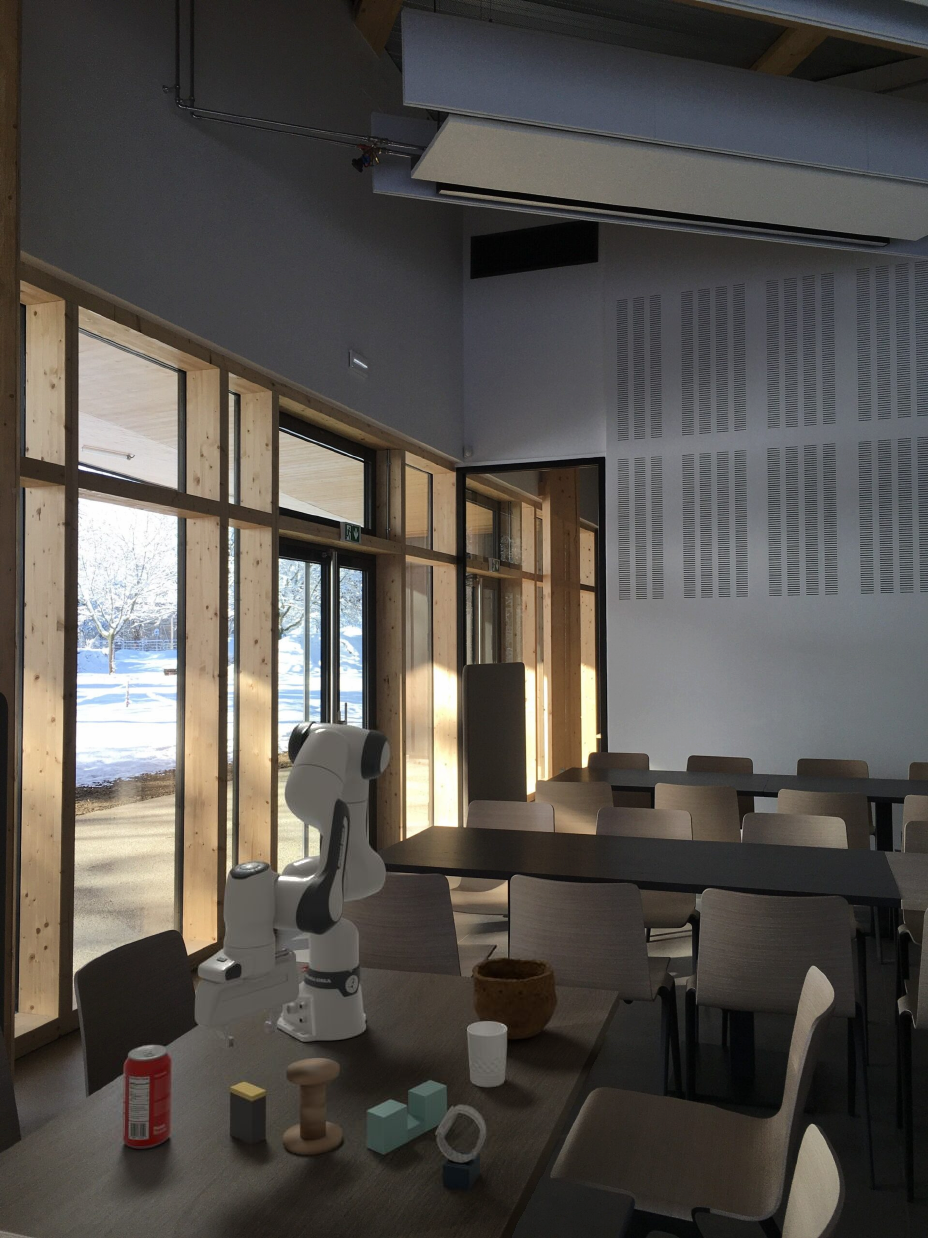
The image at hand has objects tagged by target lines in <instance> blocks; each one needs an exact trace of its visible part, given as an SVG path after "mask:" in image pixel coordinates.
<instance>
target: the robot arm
mask: <svg viewBox="0 0 928 1238" xmlns="http://www.w3.org/2000/svg"><path fill="white" fill-rule="evenodd" d="M287 743H288V744H287V756H288V760H289V761H290V762H291V764H292V765H291V766H292V767H291V769H290V772H289V775H288V777H287V779H286V780H287V781H286V783H285V787H284V800H285V803H286V805H287V808H288V809H289V810H290V812H291V814H293V815H294V817H296V818H297V819H299V820H300V821H301V822H303V823H304V824H306V825H308V826H310V827H313V828H315V829H316V830H317V831H318V833H319V834H320V835H322V839H321V840H322V841H321V847H320V852H319V853H320V855H312V856H306V857H303V858H299V859H298V860H295V861H292V862H290V863H288V864H286V865H285V866H284V868H283V870H282V873H280V872H276V871H274V870H273V869H272V866H271V865H270V864H269V863H268V862H266V861H259V860H253V861H251V860H250V861H248V862H242V863H239V864H237V865H235V866H233V867H232V868H230V870H229V871H228V873H227V878H226V881H225V887H224V897H223V898H224V899H223V920H224V924H225V935H224V939H223V948H221V949H220V950H218V952H216V953H215V954H213V955H212V956H211V957H209V958H208V959H206V960H204V961H203V962H201V963H200V964H198V965H199V966H198V968H197V975H198V976H199V977H200V978H202V979H201V980H199V982H198V984H197V986H196V990H195V1000H194V1020H195V1022H196V1023H197V1024H198V1026H200V1027H202V1028H204V1029H208V1030H212V1029H214V1030H215V1032H216V1034H217V1036H218V1037H219V1039H220V1040H219V1041H220V1043H219V1044H220V1045H219V1046H220V1049H222V1050H225V1051H226V1050H227V1051H228V1050H229V1049H233V1048H234V1041H235V1039H234V1036H230V1035H229V1034H228V1032H227V1030H229V1028H230V1026H229V1025H230V1023H233V1022H236V1021H239V1020H242V1019H245V1018H248V1017H250V1016H254V1015H256V1014H259V1013H263V1012H265V1011H268V1010H269V1011H270V1013H269V1017H268V1019H267V1020H266V1021H265V1022H264V1032H265V1033H266V1034H268V1035H271V1034H274V1033H276V1032H278V1029H279V1030H282V1031H283V1032H284V1033H286V1034H288V1035H290V1036H292V1037H294V1038H295V1039H297V1040H298V1041H301V1042H306V1043H307V1042H314V1041H315V1042H316V1041H339V1040H346V1039H349V1038H354V1037H356V1036H359V1035H361V1034H362V1033H364V1032H365V1030H366V1029H367V1024H366V1020H367V1016H366V1013H364V1003H363V994H362V986H361V984H360V982H361V979H362V978H361V977H362V975H361V974H362V968H361V964H360V961H359V960H360V959H359V953H360V952H359V947H360V946H359V938H360V937H359V931H358V929H357V927H356V925H355V924H353V922H352V921H350V920H348V919H346V918H343V917H342V915H343V911H344V902H350V901H351V902H352V901H354V900H355V901H356V900H360V899H361V900H362V899H365V898H366V897H369V896H371V895H373V894H376V893H378V892H380V891H381V890H382V888H383V886H384V885H385V883H386V882H385V881H386V876H387V874H386V873H387V871H386V865H385V863H384V860H383V859H382V857H381V855H379V854H378V853H377V852H376V851H375V850H374V849H373V848H372V847H371V845H370V843H369V840H368V837H367V831H366V822H367V821H366V820H367V809H368V808H367V807H368V799H369V789H370V788H369V787H370V786H369V785H370V780H372V779H378V777H380V776H382V775H383V774H384V772H386V771H385V770H386V769H387V766H388V764H389V761H390V757H391V750H390V748H391V747H390V742H389V739H388V737H387V735H386V734H384V733H383V732H380V731H378V730H376V729H366V728H362V727H359V726H354V725H350V724H346V723H345V724H344V723H343V724H339V723H331V722H327V723H326V722H316V721H315V720H314V721H313V720H310V721H309V720H308V721H302V722H300V723H298V724H297V725H296V726H294V728H293V729H292V731H291V733H290V736H289V738H288V742H287ZM274 929H277V930H287V931H298V932H299V931H300V932H302V933H307V936H308V957H309V958H308V959H309V963H308V964H307V965H305V966H302V967H300V969H301V971H300V972H301V974H302V973H304V978H303V981H302V982H300V981H299V980H300V979H299V973H298V968H297V955H296V953H295V952H294V950H292V949H290V948H288V947H287V948H286V947H285V948H283V949H281V950H276V936H275V933H274ZM302 969H303V970H302Z"/></svg>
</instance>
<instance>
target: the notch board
mask: <svg viewBox="0 0 928 1238" xmlns="http://www.w3.org/2000/svg"><path fill="white" fill-rule="evenodd" d="M447 1089H448V1087H447V1085H446V1084H443V1083H440V1082H436V1081H434V1080H431V1079H429V1080H427V1081H426V1082H423V1083H421V1084H419V1085H417V1086H415V1087H412V1088H411V1089H408V1091H407V1092H408V1093H407V1094H408V1095H407V1098H408V1100H407V1102H408V1105H407V1104H405V1103H402V1102H399V1101H396V1100H393V1099H388V1100H385V1101H384V1102H381V1103H380V1104H377V1105H376V1106H374V1107H372V1108H369V1109H367V1110H366V1148H367V1149H369V1150H372V1151H374V1152H377V1153H378V1154H381V1155H386V1154H388V1153H390V1152H392V1151H393V1150H396V1149H397V1148H399V1147H401V1146H403V1145H405V1144H407V1143H408V1142H410V1141H413V1139H416V1138H417V1137H420V1136H422V1135H423V1134H425V1133H426V1132H429V1131H431V1130H432V1129H434V1128H435V1127H438V1126H439V1124H440V1123H441V1121H442V1119H443V1118H444V1116H445V1115H446V1113H447V1112H448V1097H447V1096H448V1093H447V1091H448V1090H447Z"/></svg>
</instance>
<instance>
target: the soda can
mask: <svg viewBox="0 0 928 1238" xmlns="http://www.w3.org/2000/svg"><path fill="white" fill-rule="evenodd" d="M168 1050H169V1049H168V1048H167V1047H166V1046H165V1045H161V1044H147V1045H142V1046H138V1047H135V1048H133V1049H132V1050H130V1051H129V1052H128V1053H127V1058H126V1060H125V1061H124V1063H123V1082H122V1083H123V1084H122V1086H123V1087H122V1088H123V1090H122V1091H123V1093H122V1095H123V1096H122V1100H123V1101H122V1105H123V1106H122V1142H123V1143H124V1144H125V1145H126V1146H127V1147H131V1148H133V1149H136V1150H137V1149H138V1150H147V1149H151V1148H155V1147H157V1146H159V1145H161V1144H162V1143H164V1142H165V1141H166V1140H168V1138H169V1137H170V1136H171V1133H172V1071H173V1069H172V1067H173V1066H172V1061H173V1060H172V1057H171V1055H170V1054H169V1052H168Z"/></svg>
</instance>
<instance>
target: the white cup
mask: <svg viewBox="0 0 928 1238" xmlns="http://www.w3.org/2000/svg"><path fill="white" fill-rule="evenodd" d="M466 1030H467V1031H466V1033H467V1053H468V1064H469V1076H470V1077H469V1078H470V1079H469V1080H470V1082H471V1083H472V1084H473V1085H475V1086H477V1087H482V1088H493V1087H498V1086H499V1087H500V1086H501V1085H503V1084H504V1082H505V1080H506V1067H507V1053H508V1052H507V1051H508V1049H507V1048H508V1039H507V1027H506V1026H505V1025H504V1024H501V1023H498V1022H491V1021H483V1022H481V1021H477V1022H474V1023H470V1024H469V1025H468V1026H467V1028H466Z"/></svg>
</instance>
